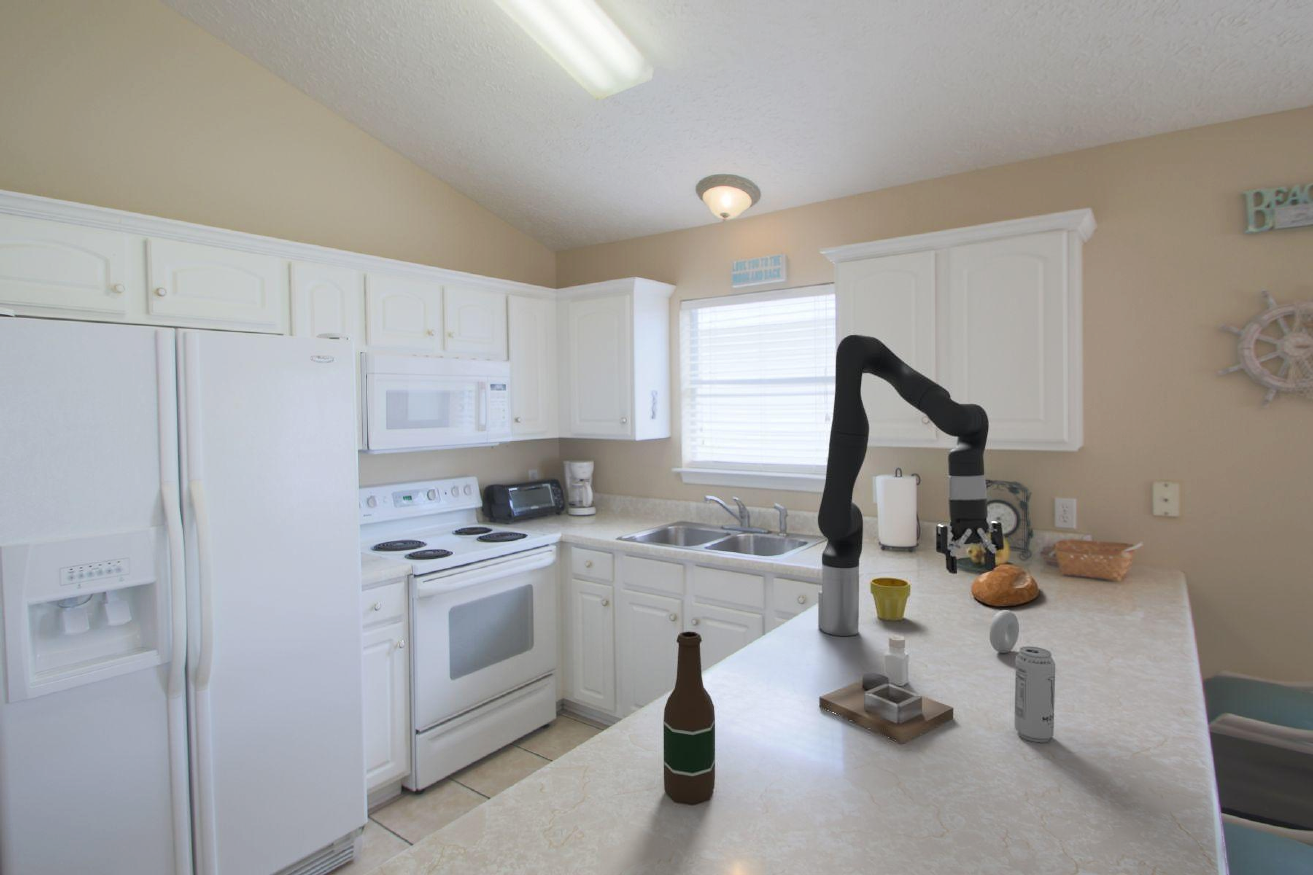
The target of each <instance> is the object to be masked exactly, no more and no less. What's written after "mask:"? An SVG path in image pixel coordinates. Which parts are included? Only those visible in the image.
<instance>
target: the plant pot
mask: <svg viewBox="0 0 1313 875" xmlns="http://www.w3.org/2000/svg"><path fill="white" fill-rule="evenodd" d="M869 583H870V584H869V586H870V587H869V588H870V593H871V595H872V596H873V601H874V605H875V609H876V610H875V611H876V615H877V617H878V618H879V619H882V620H884V621H885V620H886V621H900V620H903V618H904V616H905V610H906V606H907V602H908V598H909V597H910V596H911V583H910V582H909V581H908V580H905V579H903V578H897V577H891V576H890V577H886V576H884V577H875V578H872V579H871V580H870V582H869Z"/></svg>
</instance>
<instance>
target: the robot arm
mask: <svg viewBox="0 0 1313 875" xmlns="http://www.w3.org/2000/svg"><path fill="white" fill-rule="evenodd" d="M863 374H870V375H873V376H876V377H878V378H879V379H882V380H884V381H886V382H887V383H889V385H891V386H892V387H893V389H894V390H895V391H896V393H898V395H899V397H901V398H902V399H903V400H904V401H905V402H907V403H908V404H909V405H910V406H912V407H913V408H915V409H916V410H918V411H919V412H921V413H922V414H925V415H926V416H927V418H928V419H929V421H930V422H932V424H933V425H935V427H936V428H938V429H939V430H940V431H941V432H943V433H945V434H946V435H948V436H952V437H956V438H957V440H956V441H957V442H956V446H955V447H954V448H953V449H951V450H950V451H949V452H948V456H947V465H948V483H947V490H948V492H947V493H948V513H949V514H948V515H949V519H950V524H948V525H943V524H937V525H936V526H935V527H936V528H935V530H936V531H935V534H936V535H935V550H936V552H937V553H940V554H943V555H944V556H945V568H946V570H947V571H948V573H949V574H952V575H955V574H958V561H957V556H956V554H957V553H958V552H959V549H961V548H963V546H964V545H971V544H975V545H977V544H978V545H980V546H981V548H982V549H983V550H984V551H985V552H983V557H984V558H983V559H984V561H983V562H984V569H985V571H987V572H989V571H993V570H994V568H996V567H997V566H996V553H997V552H998V551H1003V550H1004V549H1005V545H1004V536H1003V535H1004V534H1003V525H1002V522H999V521H995V520H991V521H990V522H988V520H987V519H988V517H989V515H988V514H989V513H988V495H987V494H988V493H987V483H986V476H985V462H984V460H985V459H984V454H985V449H986V446H987V440H988V435H989V429H990V428H989V427H990V424H989V417H988V414H987V412H986V410H985V409H984V408H983V407H982V406H980V405H979V404H976V403H958V401H957V402H956V401H955V400H953V399H951V394H950V392H949V391H948V390H947V389H946V388H944V387H943V386H941V385H940V384H939V383H937V382H935V381H933V380H932V379H930V378H928V377H927V376H925V375H924V374H922V373H921V372H918V371H917V370H916V369H914V368H913V367H911V366H910V365H908V363H906V362H904V361H903V360H902V359H901V358H900V357H899V356H897V355H896V354H895V353H894V352H893V351H892V350H891V349H890V348H889V347H888V346H887V345H886V344H885V343H883V342H882V341H881V340H880V339H878V338H876V337H874V336H869V335H868V336H867V335H862V334H854V333H853V334H848V335H846V336H844V337H843V338H842V339H841V340H840V342H839V344H838V346H837V349H836V354H835V376H834V377H835V378H834V379H835V382H834V383H835V385H834V386H835V387H834V400H833V412H832V421H831V427H830V433H829V434H830V435H829V443H828V454H827V455H828V456H827V462H826V463H827V464H826V471H825V472H826V473H825V482H824V487H823V492H822V493H823V494H822V497H821V501H820V504H819V508H818V509H819V510H818V515H817V525H818V528H819V531H820V532H821V534H822V535H823V537H824V538H826V539H827V541H826V542H827V543H826V546H825V548H824V549H823V552H822V553H821V590H819V592H818V599H817V600H818V603H817V604H818V609H817V610H818V611H817V612H818V613H817V615H818V616H817V618H818V621H817V624H818V627H817V628H818V629H821V631H823V632H824V633H826V634H829V635H832V636H838V637H839V636H840V637H850V636H856V635H858V633H859V629H860V628H859V623H860V622H859V620H860V619H859V618H860V613H859V612H860V610H859V609H860V608H859V607H860V560H861V559H860V558H861V555H862V551H863V542H864V541H863V539H864V538H863V536H864V535H863V534H864V518H863V514H862V511H861V509H860V507H859V506H858V505H857V504H855V503H854V502H853V493H854V488H855V484H856V481H857V478H858V476H859V474H860V472H861V468H862V466H863V464H864V461H865V459H866V454H867V451H868V445H869V444H868V443H869V436H870V424H869V419H868V418H869V417H868V415H867V412H866V409H865V406H864V404H863V403H864V402H863V400H862V381H863ZM988 531H989V533H990V538H989V537H988V536H987V533H988ZM950 533H951V534H952V535H951V537H950V539H948V536H949V535H950Z"/></svg>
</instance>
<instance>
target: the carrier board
mask: <svg viewBox="0 0 1313 875" xmlns="http://www.w3.org/2000/svg"><path fill="white" fill-rule="evenodd" d="M861 677H862V679H861V680H859V681H857V682H854V683H852V684H849V685H846V686H844V687H842V688H839V689H836V690H833V691H830V692H827V693H826V694H823V695H821V696H820V695H819V706H818V708H820V707H822V708H821V709H823V708H824V709H823V710H825V709H826V710H825V711H827V710H829V711H831V712H834V713H836V714H837V715H836V714H835V715H836V716H838V715H840V716H842V717H841V718H843V717H844V718H843V719H845V718H847V719H848V720H847V719H846V720H847V721H849V720H852V721H853V722H852V721H851V722H852V723H854V722H855V723H854V724H856V723H858V724H860V725H859V726H860V727H863V726H865V727H866V728H865V727H864V728H865V729H867V728H870V729H871V730H870V731H872V730H873V731H872V732H874V731H876V732H878V733H880V734H879V735H881V734H882V735H881V736H883V735H884V736H883V737H885V736H886V737H885V738H887V737H889V738H888V739H890V740H892V739H894V740H896V741H897V742H896V741H895V742H896V743H898V742H900V743H899V744H900V745H904V744H906V743H908V742H910V741H911V739H912V740H913V738H914V739H916V738H917V737H919V735H920V734H922V735H924V734H925V732H926V731H927V732H929V731H931V730H933V729H935V728H937V727H939V726H941V725H943V724H945V723H947V722H949V721H951V720H953V719H954V707H952V706H950V705H947V704H945V703H942V702H939V701H937V700H934V699H931V698H928V697H926V696H924V695H921V694H918V693H917V692H916V693H915V692H913V691H910V690H908V689H906V688H903V687H901V686H898V685H894V684H890V683H889V678H888V677H886V676H885V674H882V673H875V672H868V673H864V674H863V675H862V676H861ZM829 711H828V712H829ZM831 712H830V713H831ZM834 713H833V714H834ZM840 716H839V717H840ZM948 720H949V721H948ZM946 721H947V722H946ZM942 723H943V724H942ZM858 724H857V725H858ZM940 724H941V725H940ZM936 726H937V727H936ZM932 728H933V729H932ZM930 729H931V730H930ZM876 732H875V733H876ZM927 732H926V733H927ZM878 733H877V734H878ZM923 733H924V734H923ZM920 736H921V735H920ZM915 737H916V738H915ZM894 740H893V741H894ZM909 740H910V741H909ZM907 741H908V742H907ZM905 742H906V743H905ZM903 743H904V744H903Z"/></svg>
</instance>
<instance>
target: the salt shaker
mask: <svg viewBox="0 0 1313 875" xmlns="http://www.w3.org/2000/svg"><path fill="white" fill-rule="evenodd" d="M905 648H906V638H905V636H902V635H897V634H893V635H889V636H888V650H887V651H886V652H885V653H884V676H886V677H888V678H889V684H892V685H895V686H897V687H903V686H904V685H906V684H907V683H908V682H909V665H910V664H909V663H910V662H909V661H910V660H909V659H910V656H909V653H908V652H906V651H905Z"/></svg>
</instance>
